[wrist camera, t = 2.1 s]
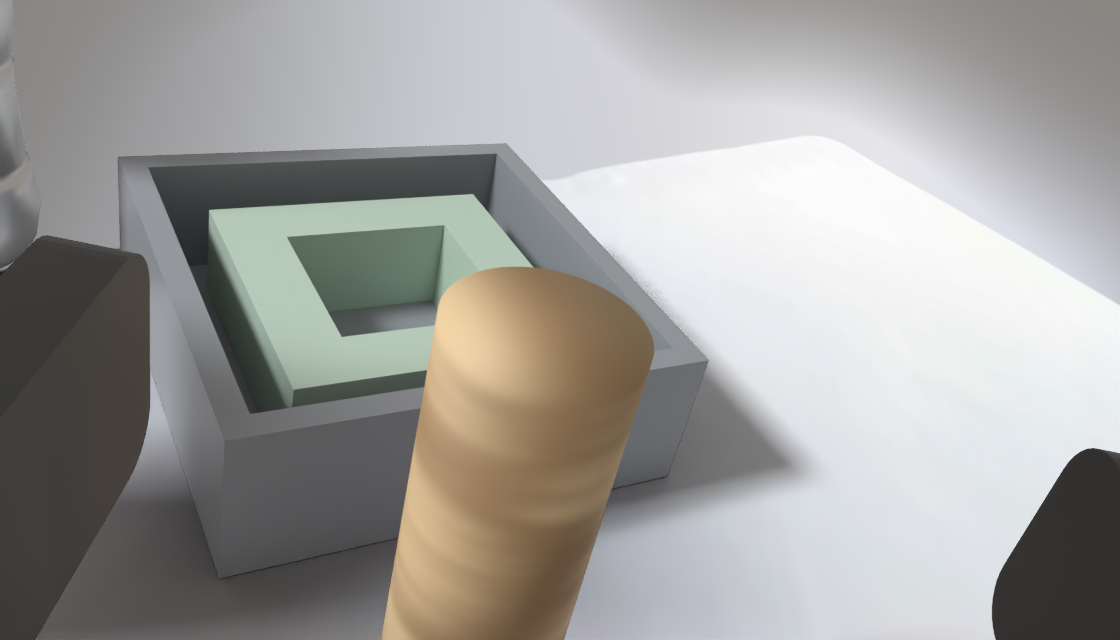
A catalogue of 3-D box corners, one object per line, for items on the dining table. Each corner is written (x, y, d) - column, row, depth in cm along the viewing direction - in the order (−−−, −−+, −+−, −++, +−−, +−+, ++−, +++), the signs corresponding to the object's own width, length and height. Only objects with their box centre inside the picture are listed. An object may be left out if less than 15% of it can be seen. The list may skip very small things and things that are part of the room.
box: (486, 246, 55) (506, 143, 52) (667, 476, 43) (708, 360, 40) (121, 278, 47) (117, 156, 43) (218, 578, 34) (224, 440, 31)
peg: (476, 691, 33) (587, 258, 24) (540, 821, 30) (695, 377, 21) (336, 736, 31) (404, 276, 22) (390, 880, 28) (495, 413, 19)
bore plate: (460, 266, 51) (472, 193, 49) (575, 422, 43) (597, 344, 41) (207, 290, 45) (209, 209, 43) (286, 477, 37) (293, 389, 35)
